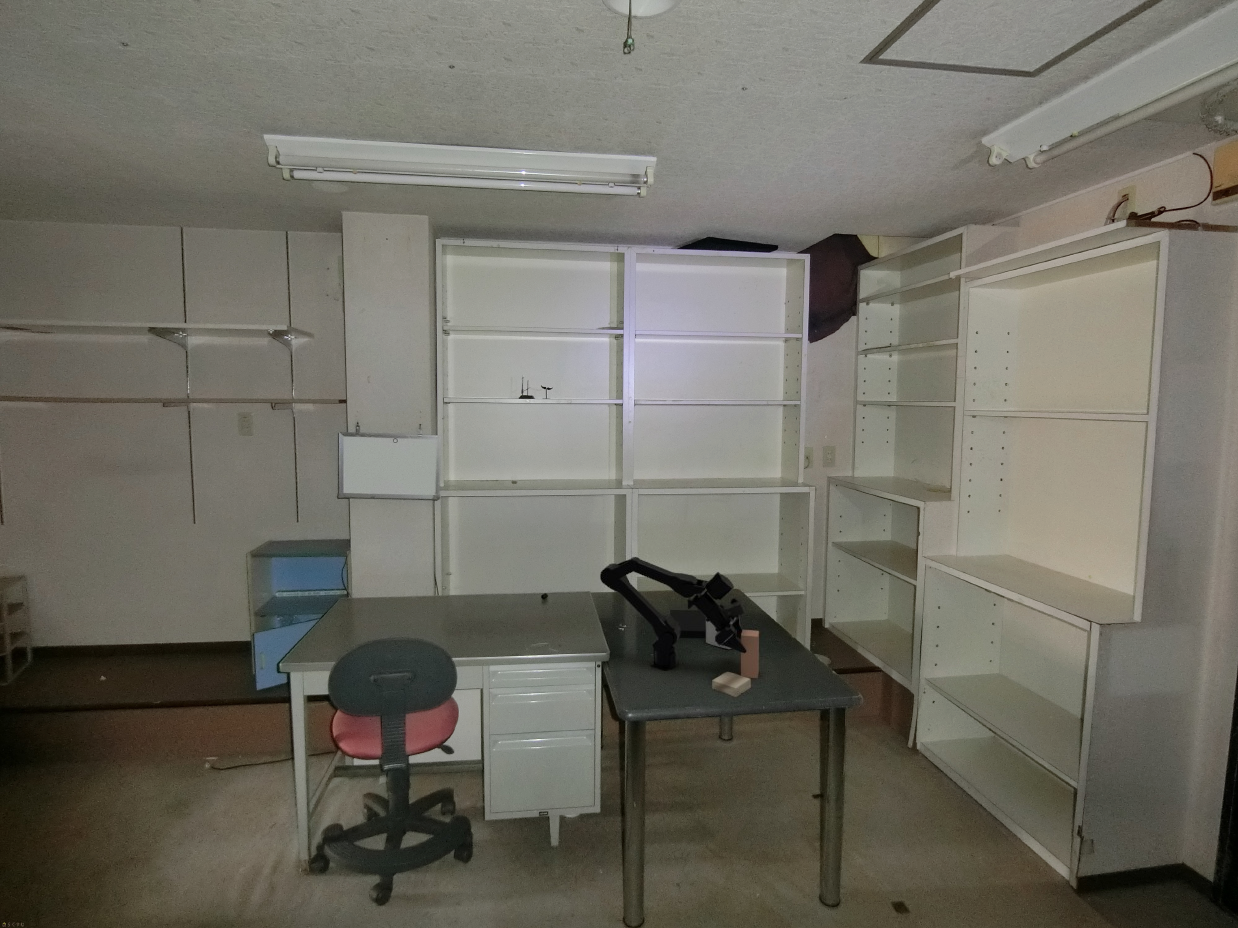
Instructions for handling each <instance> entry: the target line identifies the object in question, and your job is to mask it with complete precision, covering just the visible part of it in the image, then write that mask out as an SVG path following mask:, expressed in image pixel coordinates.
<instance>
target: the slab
mask: <svg viewBox="0 0 1238 928" xmlns="http://www.w3.org/2000/svg"><path fill="white" fill-rule="evenodd" d="M711 684H712V685H711V687H712V688H711V689H712V690H714V689H715V690H714V691H717V692H720V693H723V694H726V695H729V696H731V697H734V698H737V697H739V696H740V695H741V693H742V694H743V693H745V692H746V691H748V690H749V689H751V688H752V687H751V684H752V681H751V678H749V677H743V676H741V674H737V673H733V672H730V671H726V672H724V673H722V674H721V675H719V676H718V677H716V678H714V679H712V683H711Z"/></svg>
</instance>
